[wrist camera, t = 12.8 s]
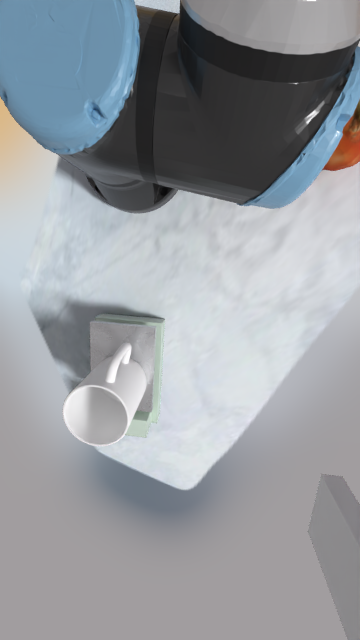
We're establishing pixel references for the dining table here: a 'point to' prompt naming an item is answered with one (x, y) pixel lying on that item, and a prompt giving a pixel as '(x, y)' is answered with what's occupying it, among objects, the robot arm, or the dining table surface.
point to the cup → (106, 399)
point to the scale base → (141, 418)
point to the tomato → (347, 145)
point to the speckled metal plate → (142, 350)
